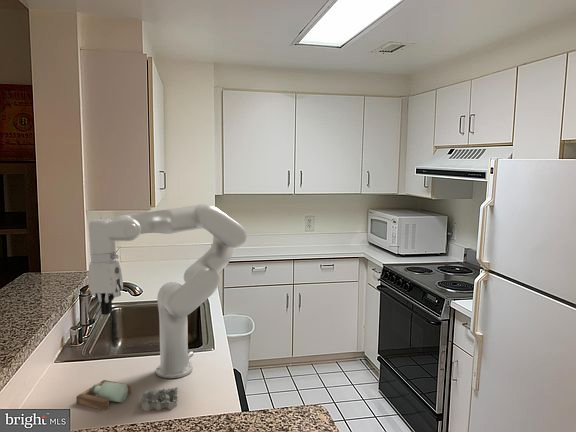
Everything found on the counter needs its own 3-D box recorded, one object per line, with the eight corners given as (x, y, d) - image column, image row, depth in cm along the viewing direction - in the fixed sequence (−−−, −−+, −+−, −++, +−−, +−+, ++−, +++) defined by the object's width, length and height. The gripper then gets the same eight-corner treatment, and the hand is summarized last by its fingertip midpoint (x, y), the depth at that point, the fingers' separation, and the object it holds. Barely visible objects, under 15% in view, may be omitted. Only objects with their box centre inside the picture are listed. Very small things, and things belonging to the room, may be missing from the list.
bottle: (127, 399, 140) (99, 395, 143) (128, 382, 141) (100, 378, 143) (117, 404, 135) (88, 400, 138) (118, 386, 136) (89, 382, 138)
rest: (104, 386, 147) (104, 379, 147) (131, 392, 144) (130, 385, 143) (76, 403, 136) (76, 396, 136) (104, 410, 133) (104, 402, 133)
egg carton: (139, 412, 132) (138, 399, 132) (143, 400, 139) (143, 387, 139) (176, 410, 134) (176, 396, 133) (179, 397, 141) (178, 385, 141)
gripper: (130, 256, 146) (133, 311, 148) (91, 254, 150) (95, 308, 152) (116, 261, 138) (119, 319, 140) (75, 259, 143) (79, 315, 144)
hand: (106, 313), depth 146 cm, fingers closed
